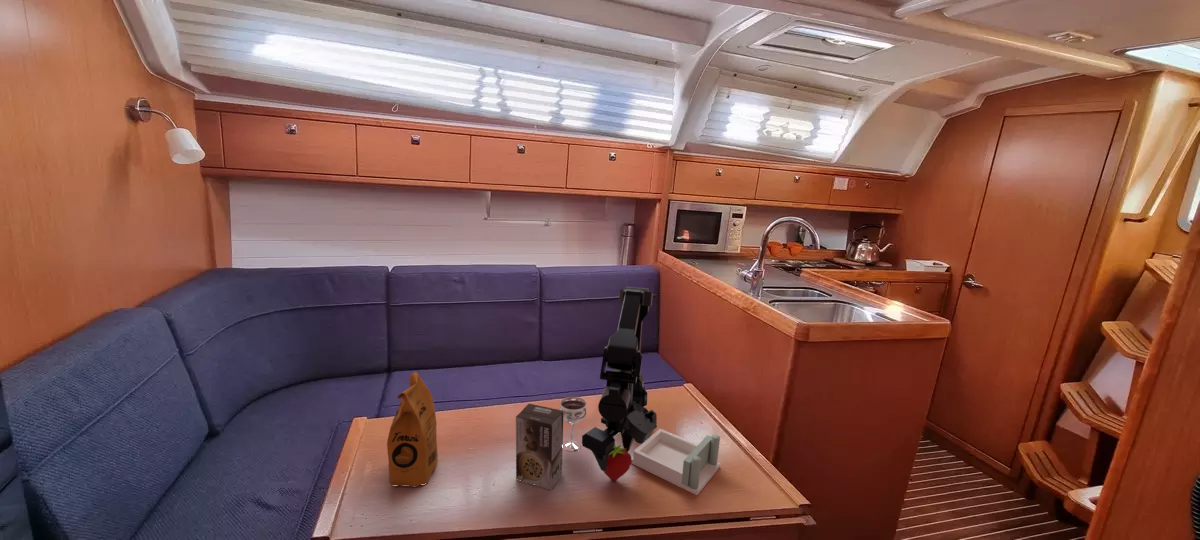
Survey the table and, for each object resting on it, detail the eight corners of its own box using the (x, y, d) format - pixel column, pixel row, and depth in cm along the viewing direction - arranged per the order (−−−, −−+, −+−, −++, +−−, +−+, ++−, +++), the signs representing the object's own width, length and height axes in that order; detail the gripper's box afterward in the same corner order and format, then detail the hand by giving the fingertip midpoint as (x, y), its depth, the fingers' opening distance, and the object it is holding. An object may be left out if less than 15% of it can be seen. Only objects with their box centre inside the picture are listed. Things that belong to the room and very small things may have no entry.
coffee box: (562, 473, 105) (565, 410, 101) (551, 491, 99) (553, 424, 95) (527, 463, 108) (528, 402, 104) (514, 480, 102) (515, 415, 98)
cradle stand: (629, 462, 110) (631, 432, 108) (655, 438, 120) (657, 411, 119) (697, 495, 100) (700, 463, 98) (719, 466, 110) (723, 437, 108)
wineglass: (553, 449, 114) (555, 406, 111) (565, 435, 120) (567, 394, 117) (578, 456, 111) (580, 412, 109) (589, 442, 117) (591, 400, 115)
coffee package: (381, 490, 96) (375, 396, 92) (401, 454, 109) (396, 370, 104) (428, 489, 97) (425, 396, 93) (443, 454, 109) (441, 370, 105)
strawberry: (631, 490, 100) (634, 450, 98) (597, 489, 100) (599, 449, 98) (629, 472, 106) (631, 434, 104) (597, 471, 106) (599, 433, 104)
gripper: (626, 429, 87) (621, 499, 90) (671, 394, 102) (666, 455, 105) (581, 409, 93) (578, 475, 97) (630, 379, 108) (626, 437, 111)
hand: (615, 460), depth 102 cm, fingers open, 9 cm apart
